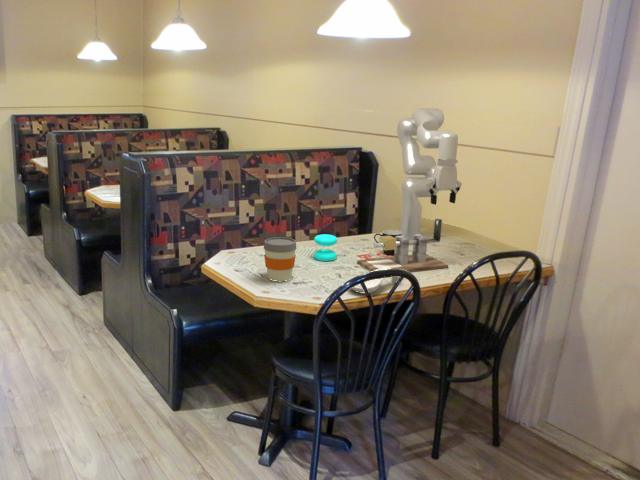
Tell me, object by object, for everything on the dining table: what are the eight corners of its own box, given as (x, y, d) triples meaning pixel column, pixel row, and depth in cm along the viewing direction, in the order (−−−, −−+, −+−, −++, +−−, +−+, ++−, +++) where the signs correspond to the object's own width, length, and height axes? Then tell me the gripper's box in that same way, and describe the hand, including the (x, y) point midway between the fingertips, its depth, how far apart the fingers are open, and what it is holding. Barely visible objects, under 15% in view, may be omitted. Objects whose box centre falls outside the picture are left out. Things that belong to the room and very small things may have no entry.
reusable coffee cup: (301, 280, 227) (302, 243, 223) (273, 285, 221) (273, 247, 217) (285, 271, 237) (286, 235, 233) (257, 276, 231) (257, 239, 227)
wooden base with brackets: (357, 263, 251) (358, 235, 248) (424, 256, 265) (426, 229, 261) (377, 276, 235) (379, 246, 232) (448, 268, 249) (450, 239, 246)
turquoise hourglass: (310, 235, 256) (329, 232, 261) (309, 257, 258) (328, 254, 263) (321, 240, 248) (341, 237, 253) (321, 263, 250) (340, 260, 255)
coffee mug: (403, 254, 268) (405, 232, 265) (392, 257, 261) (394, 235, 259) (383, 248, 275) (384, 228, 273) (372, 252, 269) (373, 230, 266)
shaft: (372, 247, 243) (374, 223, 241) (437, 241, 256) (439, 218, 254) (376, 249, 241) (377, 225, 238) (441, 242, 253) (443, 220, 251)
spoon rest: (363, 299, 210) (364, 280, 208) (341, 290, 218) (342, 272, 217) (407, 286, 225) (409, 268, 223) (385, 278, 233) (386, 261, 232)
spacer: (378, 247, 246) (379, 236, 245) (389, 246, 248) (389, 235, 247) (385, 250, 241) (385, 239, 240) (395, 249, 243) (396, 238, 242)
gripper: (457, 161, 252) (453, 200, 256) (423, 162, 244) (420, 202, 249) (468, 163, 245) (464, 203, 250) (434, 164, 238) (431, 206, 242)
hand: (442, 203), depth 249 cm, fingers open, 9 cm apart
